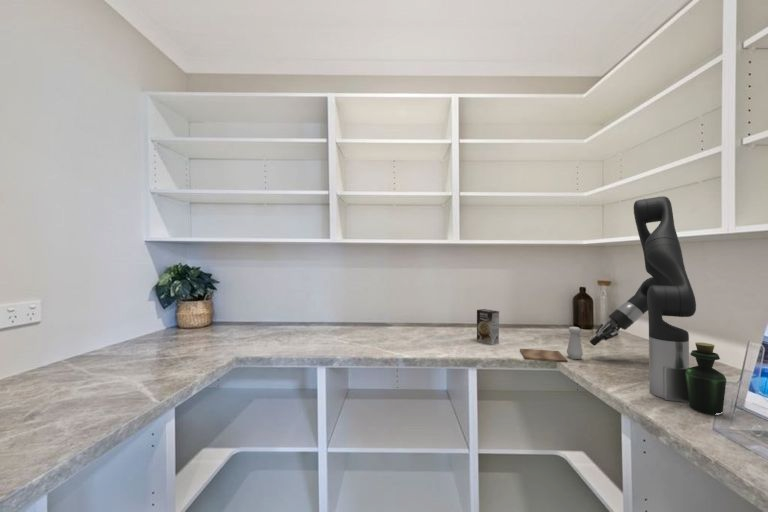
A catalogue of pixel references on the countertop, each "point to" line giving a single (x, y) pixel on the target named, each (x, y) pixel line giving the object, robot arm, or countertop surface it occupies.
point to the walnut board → (543, 355)
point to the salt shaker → (574, 344)
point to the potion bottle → (705, 381)
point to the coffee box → (488, 326)
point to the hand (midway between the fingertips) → (591, 343)
